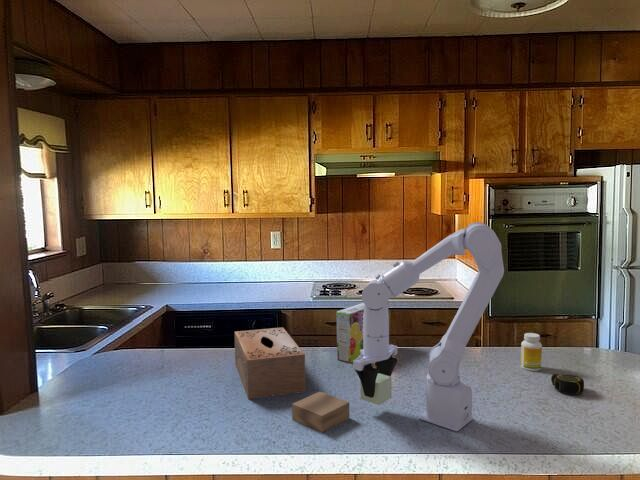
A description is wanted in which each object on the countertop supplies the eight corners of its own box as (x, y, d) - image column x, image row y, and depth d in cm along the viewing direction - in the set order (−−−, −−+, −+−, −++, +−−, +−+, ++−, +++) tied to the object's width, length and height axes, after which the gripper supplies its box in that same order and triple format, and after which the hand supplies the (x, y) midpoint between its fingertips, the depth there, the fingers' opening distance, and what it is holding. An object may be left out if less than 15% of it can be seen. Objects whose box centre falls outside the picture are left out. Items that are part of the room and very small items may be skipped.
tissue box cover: (305, 392, 128) (304, 354, 127) (248, 400, 124) (247, 360, 123) (283, 359, 153) (283, 327, 152) (235, 364, 149) (234, 331, 148)
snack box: (375, 342, 168) (375, 297, 166) (389, 345, 164) (390, 300, 163) (335, 360, 152) (335, 310, 150) (351, 364, 148) (351, 313, 146)
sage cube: (391, 397, 116) (391, 376, 116) (378, 405, 112) (378, 383, 112) (373, 392, 119) (373, 371, 119) (360, 399, 116) (360, 377, 115)
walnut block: (349, 419, 114) (349, 402, 113) (322, 434, 107) (321, 415, 107) (319, 407, 120) (319, 391, 119) (292, 421, 113) (292, 403, 113)
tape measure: (579, 387, 130) (580, 373, 129) (587, 398, 123) (587, 383, 123) (550, 385, 131) (551, 371, 131) (556, 396, 125) (556, 381, 124)
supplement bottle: (516, 365, 145) (517, 332, 144) (533, 363, 146) (534, 331, 145) (528, 372, 140) (529, 338, 139) (545, 370, 141) (546, 336, 140)
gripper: (379, 324, 122) (379, 378, 124) (341, 338, 112) (342, 397, 113) (405, 329, 118) (404, 385, 119) (368, 344, 107) (368, 406, 108)
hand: (376, 392), depth 116 cm, fingers closed on sage cube, 5 cm apart
